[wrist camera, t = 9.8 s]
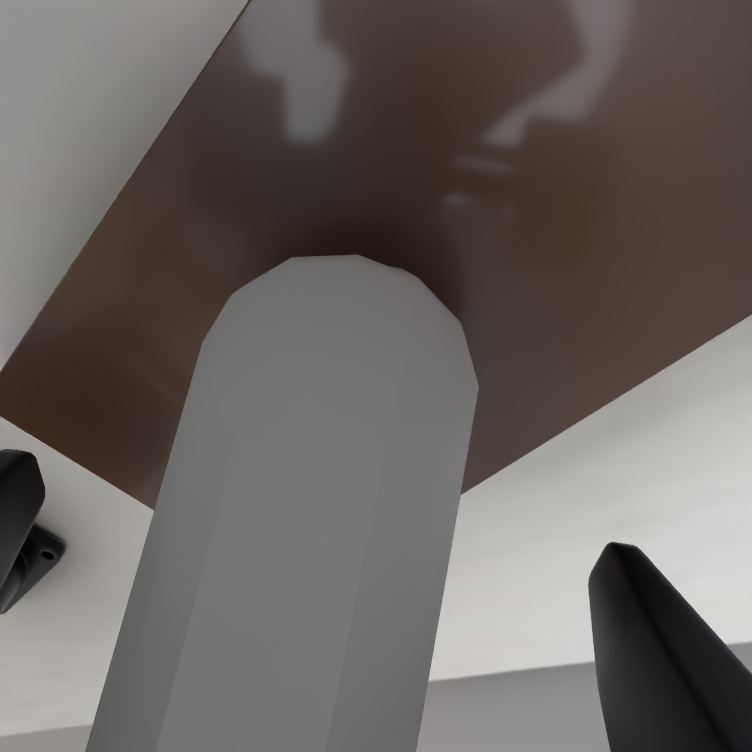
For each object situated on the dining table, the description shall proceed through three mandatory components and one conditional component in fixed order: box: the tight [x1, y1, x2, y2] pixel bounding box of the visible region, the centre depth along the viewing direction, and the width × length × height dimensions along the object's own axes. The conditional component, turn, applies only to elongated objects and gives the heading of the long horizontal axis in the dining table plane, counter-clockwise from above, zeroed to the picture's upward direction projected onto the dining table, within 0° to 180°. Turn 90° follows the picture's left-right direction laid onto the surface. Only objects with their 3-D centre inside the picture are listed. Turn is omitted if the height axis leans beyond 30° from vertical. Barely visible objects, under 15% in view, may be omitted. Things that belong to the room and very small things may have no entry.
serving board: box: [0, 0, 752, 510], centre depth 15 cm, size 20×12×2 cm, turn 137°
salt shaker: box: [85, 255, 479, 752], centre depth 9 cm, size 6×6×13 cm
